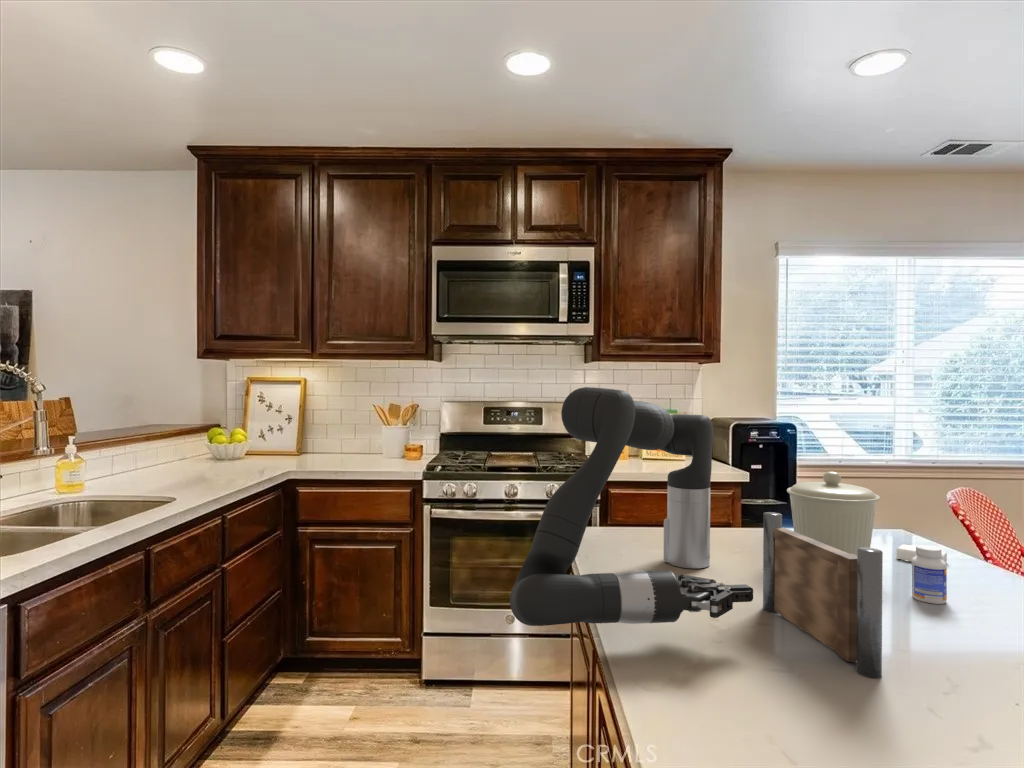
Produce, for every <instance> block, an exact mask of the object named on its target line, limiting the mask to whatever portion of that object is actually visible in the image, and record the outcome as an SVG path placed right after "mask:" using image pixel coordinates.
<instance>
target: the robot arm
mask: <svg viewBox="0 0 1024 768" xmlns="http://www.w3.org/2000/svg"><path fill="white" fill-rule="evenodd" d="M560 415H561V420H562V424H563V427H564V429H565V431H566V432H567V433H568V434H569V435H570V437H572V438H574V439H577V440H580V441H583V442H591V443H596V444H595V446H594V448H593V450H592V451H591V453H590V455H589V456H588V457H587V459H586V460H585V461H584V462H583V463H582V464H581V466H580V467H578V469H577V470H576V471H575V472H573V474H572V475H571V476H570V477H569V478H567V480H565V481H564V482H563V483H562V484H561V485H560V486H559V487H558V488H557V489H556V490H555V491H554V493H553V494H552V495H551V496H550V498H549V499H548V501H547V503H546V505H545V507H544V509H543V512H542V514H541V516H540V520H539V523H538V525H537V528H536V530H535V533H534V535H533V539H532V543H531V546H530V549H529V551H528V554H527V555H526V558H525V560H524V562H523V564H522V566H521V568H520V571H519V573H518V575H517V576H516V578H515V582H514V584H513V586H512V589H511V591H510V595H509V596H510V597H509V605H510V609H511V613H512V614H513V616H514V617H515V619H516V620H517V621H518V622H519V623H521V624H523V625H526V626H531V627H544V626H545V627H546V626H556V625H557V626H558V625H569V624H575V623H585V624H613V623H615V624H617V623H619V624H629V625H630V624H631V625H635V624H636V625H637V624H638V625H639V624H661V623H666V624H667V623H675V622H677V621H678V620H679V618H680V617H681V615H682V613H683V612H684V611H688V612H689V613H700V612H702V611H708V612H709V617H710V618H713V619H718V618H720V617H721V616H724V615H725V614H726V613H728V612H729V611H732V610H733V609H734V607H733V606H734V605H733V604H734V603H751V602H752V601H753V600H754V588H753V587H751V586H750V585H748V584H742V583H741V584H726V583H723V582H717V580H716V579H711V578H706V577H705V578H704V577H699V576H693V575H687V574H683V573H682V574H681V573H680V574H678V575H677V576H676V574H675V573H674V572H673V571H672V570H669V569H651V570H650V569H647V570H645V569H644V570H643V569H642V570H625V571H624V570H623V571H619V572H612V573H611V572H605V573H603V572H602V573H601V572H600V573H587V574H578V575H577V574H568V573H567V571H568V569H569V567H570V566H572V564H573V563H574V561H576V560H575V559H576V558H577V556H578V553H579V549H580V548H581V547H580V546H581V544H582V540H583V537H584V535H585V532H586V529H587V526H588V524H589V523H588V522H590V521H589V520H590V518H591V515H592V512H593V511H594V508H595V506H596V503H597V501H598V499H599V497H600V495H601V493H602V491H603V489H604V487H605V485H606V484H607V482H608V480H609V478H610V476H611V475H612V474H613V473H612V472H613V471H614V469H615V467H616V465H617V463H618V461H619V459H620V457H621V455H622V453H623V451H624V449H625V447H626V446H627V447H631V448H633V449H638V450H643V451H644V450H645V451H657V450H661V451H663V452H665V453H666V454H670V455H675V456H677V455H678V456H689V457H691V462H690V464H688V465H687V466H686V467H681V468H680V469H675V470H672V471H669V473H667V495H666V496H667V506H666V507H667V515H666V518H664V519H663V560H662V561H663V562H664V563H667V564H670V565H672V566H675V567H679V568H683V569H684V568H685V569H703V568H708V567H709V566H710V565H711V561H710V559H711V478H712V465H713V463H712V460H713V459H712V458H713V447H714V446H713V445H714V426H713V422H712V420H711V418H710V417H709V416H707V415H704V414H686V413H685V414H684V413H682V414H681V413H675V414H674V413H673V414H672V413H671V414H670V413H669V411H668V410H667V409H665V408H663V407H662V406H660V405H657V404H653V403H651V402H647V401H641V400H634V398H633V397H632V395H631V394H630V393H628V392H627V391H626V390H621V389H615V388H614V389H613V388H603V387H594V386H593V387H591V386H590V387H589V386H584V387H579V388H576V389H575V390H573V391H571V392H570V393H569V394H568V395H567V397H566V398H565V399H564V401H563V404H562V407H561V411H560Z"/></svg>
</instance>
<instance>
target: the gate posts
mask: <svg viewBox="0 0 1024 768" xmlns="http://www.w3.org/2000/svg"><path fill="white" fill-rule="evenodd" d="M774 528H783V514H781V513H780V512H772V511H767V512H763V533H762V535H763V536H762V537H763V539H762V542H763V546H762V547H763V549H762V550H763V551H762V553H763V554H762V557H763V558H762V567H763V568H762V571H763V572H762V609H763V611H765V612H767V613H773V614H778V613H777V612H776V611H774V592H775V538H774ZM883 558H884V557H883V551H882V550H880V549H878V548H873V547H870V548H866V547H861V548H857V661H856V672H857V673H858V674H859V675H860V676H863V677H865V678H869V679H881V678H882V677H883V676H882V674H883V669H882V668H883V568H884V567H883V563H884V561H883V560H884V559H883Z"/></svg>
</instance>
